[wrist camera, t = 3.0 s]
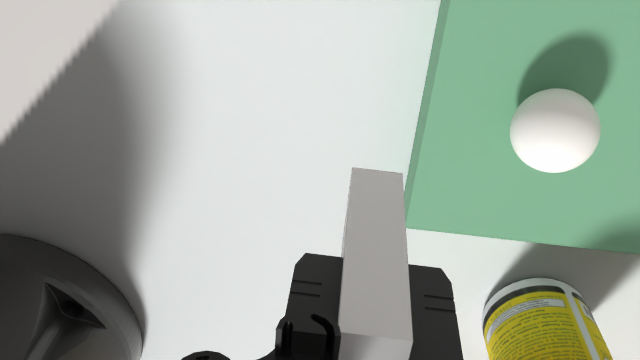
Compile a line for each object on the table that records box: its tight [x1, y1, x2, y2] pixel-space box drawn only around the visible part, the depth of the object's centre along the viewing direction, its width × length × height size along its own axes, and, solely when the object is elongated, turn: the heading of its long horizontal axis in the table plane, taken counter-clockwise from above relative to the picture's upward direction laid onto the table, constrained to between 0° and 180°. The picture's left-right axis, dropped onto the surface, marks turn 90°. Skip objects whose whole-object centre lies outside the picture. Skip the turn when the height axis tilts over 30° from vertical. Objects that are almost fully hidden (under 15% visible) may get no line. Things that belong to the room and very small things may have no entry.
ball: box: [510, 88, 601, 173], centre depth 24 cm, size 4×4×4 cm
